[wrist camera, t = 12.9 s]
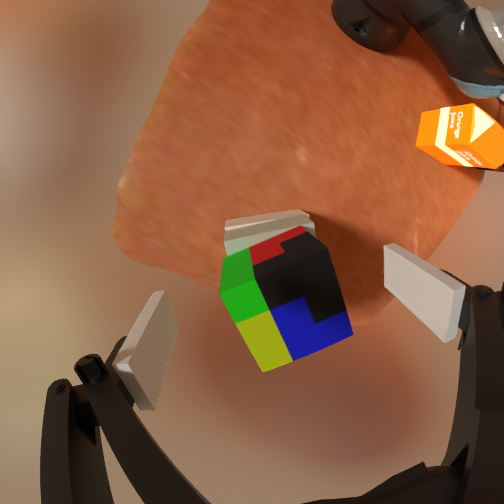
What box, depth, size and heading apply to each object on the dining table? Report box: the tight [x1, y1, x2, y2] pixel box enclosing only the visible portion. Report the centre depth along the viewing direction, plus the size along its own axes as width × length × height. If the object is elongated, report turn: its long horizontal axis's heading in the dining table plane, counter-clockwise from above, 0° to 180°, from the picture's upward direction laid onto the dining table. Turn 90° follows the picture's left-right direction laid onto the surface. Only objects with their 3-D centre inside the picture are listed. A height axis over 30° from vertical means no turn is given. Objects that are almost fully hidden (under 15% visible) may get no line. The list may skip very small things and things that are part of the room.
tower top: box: [224, 215, 316, 256], centre depth 37 cm, size 11×11×6 cm
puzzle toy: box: [219, 225, 353, 372], centre depth 29 cm, size 10×10×10 cm
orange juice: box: [416, 103, 504, 169], centre depth 31 cm, size 8×9×20 cm
